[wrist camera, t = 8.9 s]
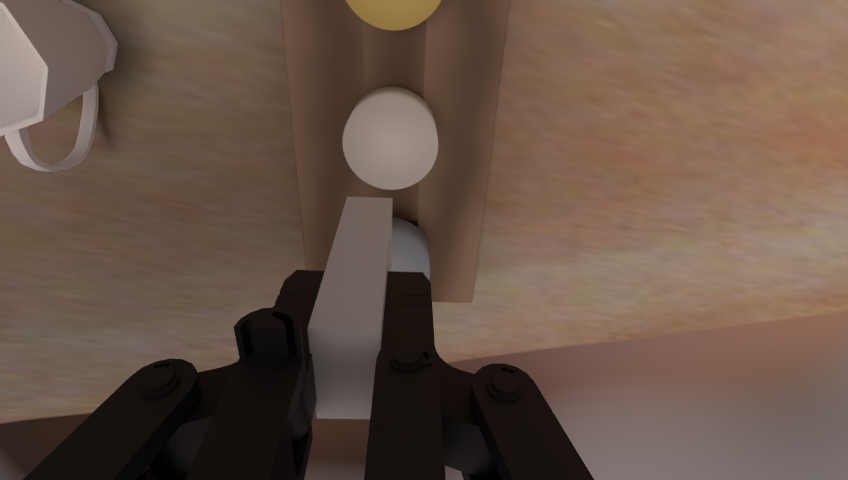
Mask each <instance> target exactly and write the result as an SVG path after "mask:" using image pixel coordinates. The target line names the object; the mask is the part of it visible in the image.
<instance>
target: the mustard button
mask: <svg viewBox="0 0 848 480" xmlns="http://www.w3.org/2000/svg"><path fill="white" fill-rule="evenodd" d="M346 2H347V4H348V5H349V6H350V8H351V9H352V10H353V11H354V12H355V13H356V14H357V15H358V16H359V17H360V18H361V19H362V20H364V21H365V22H367V23H369V24H370V25H372V26H375V27H377V28H380V29H384V30H392V31H393V30H404V29H408V28H411V27H414V26H416V25H418V24H420V23H421V22H423V21H424V20H426V19H427V18H428V17H429V16H430V15H431V14H432V13H433V12H434V11H435V10H436V8H437V7H438V5H439V4H440V2H441V0H346Z"/></svg>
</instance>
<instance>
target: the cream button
mask: <svg viewBox="0 0 848 480" xmlns="http://www.w3.org/2000/svg"><path fill="white" fill-rule="evenodd" d="M342 144H343V151H344V155H345V158H346V161H347V163H348V164H349V166H350V168H351V169H352V170H353V172H354V173H355V174H356V175H357V176H358V177H359V178H360V179H362V180H363V181H365V182H366V183H368V184H370V185H372V186H374V187H377V188H381V189H388V190H397V189H403V188H406V187H409V186H412V185H414V184H415V183H417V182H419V181H420V180H421V179H423V178H424V177H425V176H426V175H427V174H428V172H429V171H430V170H431V168H432V167H433V165H434V163H435V160H436V157H437V153H438V136H437V129H436V122H435V119H434V116H433V113H432V111H431V109H430V108H429V106H428V105H427V103H426V102H425V101H424V100H423V99H422V98H421V97H420V96H418V95H417V94H415V93H414V92H412V91H410V90H407V89H405V88H401V87H394V86H391V87H381V88H378V89H375V90H373V91H371V92H369V93H368V94H366V95H365V96H363V97H362V98H361V99H360V100H359V101H358V103H357V104H356V105H355V107H354V109H353V111H352V113H351V115H350V117H349V119H348V121H347V123H346V126H345V129H344V132H343V143H342Z"/></svg>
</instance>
